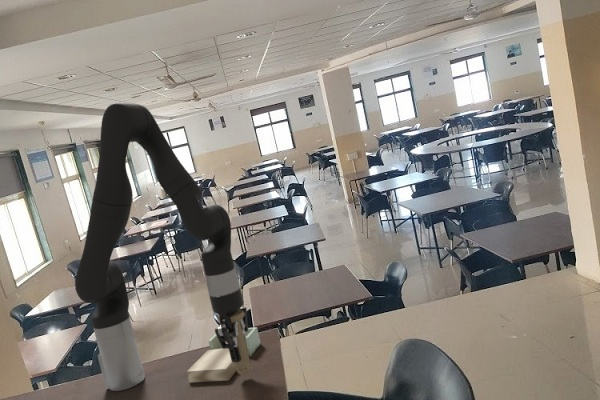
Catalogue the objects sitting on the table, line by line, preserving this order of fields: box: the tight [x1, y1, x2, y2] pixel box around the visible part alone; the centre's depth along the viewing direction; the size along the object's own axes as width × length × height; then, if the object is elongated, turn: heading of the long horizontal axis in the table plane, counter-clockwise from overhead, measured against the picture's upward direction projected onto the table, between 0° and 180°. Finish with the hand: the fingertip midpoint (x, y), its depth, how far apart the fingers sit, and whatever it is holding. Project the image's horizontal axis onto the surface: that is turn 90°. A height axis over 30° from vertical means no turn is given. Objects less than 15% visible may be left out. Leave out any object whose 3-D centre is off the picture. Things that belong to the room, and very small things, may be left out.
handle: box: [217, 309, 251, 376], centre depth 123 cm, size 5×6×15 cm
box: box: [208, 326, 262, 357], centre depth 142 cm, size 12×8×5 cm, turn 74°
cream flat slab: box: [186, 348, 237, 384], centre depth 132 cm, size 11×12×3 cm
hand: (240, 356), depth 123 cm, fingers closed on handle, 4 cm apart
